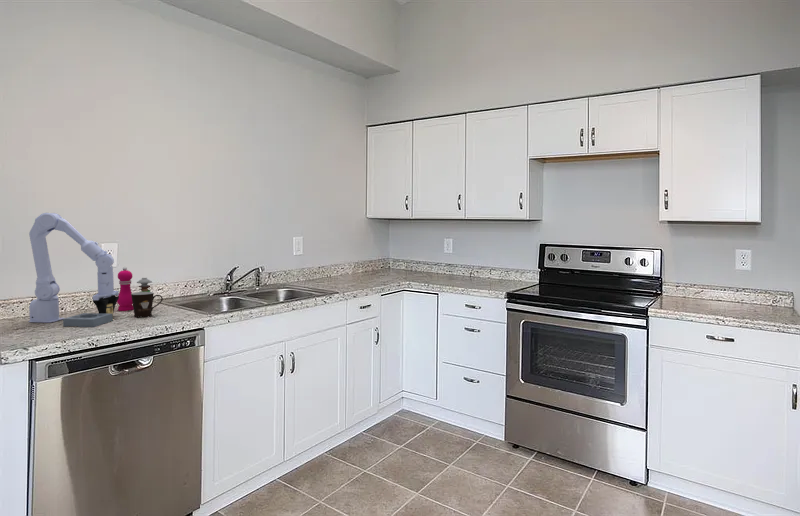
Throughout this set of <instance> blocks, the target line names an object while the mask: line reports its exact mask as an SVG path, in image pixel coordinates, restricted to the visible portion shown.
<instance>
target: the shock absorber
mask: <svg viewBox="0 0 800 516" xmlns="http://www.w3.org/2000/svg"><path fill="white" fill-rule="evenodd" d="M151 283H153V281H152V280H150V279H148V277H142V278H141V279H139V280H138V281H136V284H140V285H139V286H138V288H139V290H140V292H151V289H150V288H151V285H148V284H151Z"/></svg>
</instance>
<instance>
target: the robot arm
mask: <svg viewBox="0 0 800 516" xmlns="http://www.w3.org/2000/svg"><path fill="white" fill-rule="evenodd" d="M54 230H55V231H59V232H63V233H65V234H66V235H67V236H69V237H70V238H71V239H73V240H74V241H75V242H76V243H77V244H78V245H80V250H81V251H82V252H83V253H84V254H85V255H86V256H87V257H88V258H90V259H91V260H92V261H94V262H95V265H96V267H97V293H96V294H94V295H92V302H93V304H94V305H95V307H96V309H97V313H106V307H107V303H113V314H114V312H115V309H116V305H117V304H118V303H117V301H118V299H119V296H118V295H119V292H120V290H114V289H115V287H114V266H113V265H114V263H115V259H114V257H113V256H112V255H111V254H110V253H108V251H107V250H104V249H103V247H101V246H99V243H98V242H97V241H94V240H92V239H91V240H90V239H89V240H88V239H87V238H86V237H85V236H84V235H83V234H82V233H81V232H80V231H78V229H76V228H75V227H74V225H72V224H71V223H70V222H69V221H68V220H67V219H65V218H64V217H62V216H61V215H60V214H59V213H55V212H51V213H50V212H42V213H41V214H39V215H38V216H37V217H36V218H35V219H34V223H33V225H32V227H31V228H30V230H29V233H28V234H29V241H30V244H31V249H32V256H33V261H34V266H35V272H36V276H37V277H36V281H35V290H34V295H35V297H36V299H32V300H31V301H30V303H29V307H28V308H29V310H28V311H29V320H28V321H27V322H28V323H55V322H57V321H58V322H59V321H63V319H64V318H65V317H60V301H59V298H60V297H59V296H58V294H59V293H60V290H61V289H60V285H59V284H58V283H57V281H56V278H55V277H54V274H53V270H52V265H51V259H50V254H49V249H48V243H47V238H46V237H47V236H48V235H49V234H50V233H52V231H54Z"/></svg>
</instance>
